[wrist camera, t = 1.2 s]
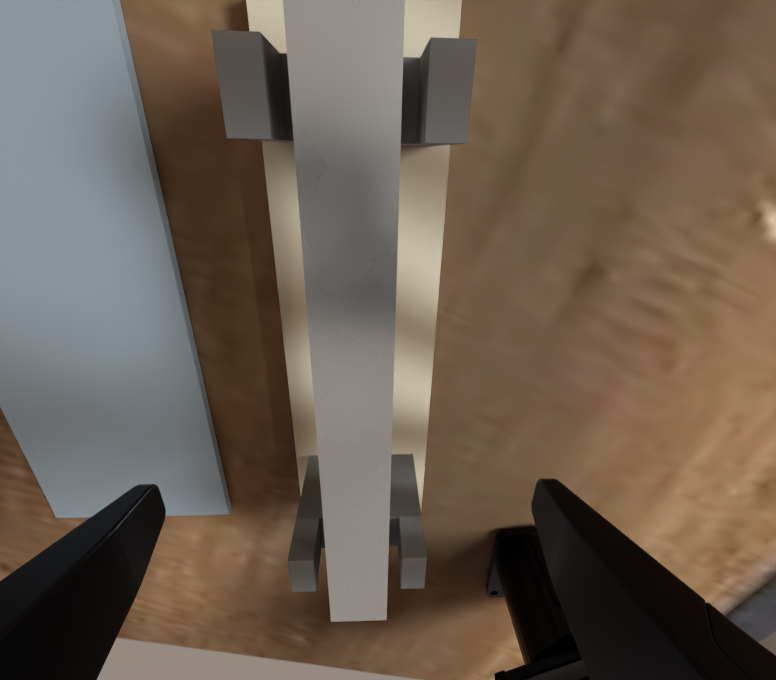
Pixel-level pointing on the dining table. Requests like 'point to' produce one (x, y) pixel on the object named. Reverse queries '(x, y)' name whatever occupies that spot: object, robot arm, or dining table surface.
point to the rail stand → (414, 257)
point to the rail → (350, 271)
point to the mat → (92, 275)
